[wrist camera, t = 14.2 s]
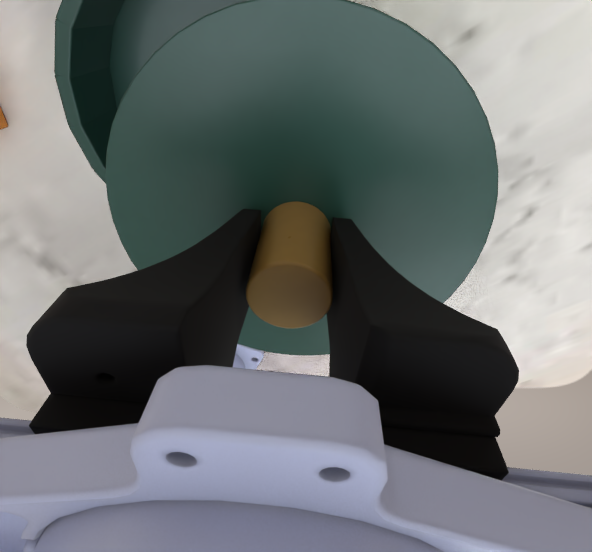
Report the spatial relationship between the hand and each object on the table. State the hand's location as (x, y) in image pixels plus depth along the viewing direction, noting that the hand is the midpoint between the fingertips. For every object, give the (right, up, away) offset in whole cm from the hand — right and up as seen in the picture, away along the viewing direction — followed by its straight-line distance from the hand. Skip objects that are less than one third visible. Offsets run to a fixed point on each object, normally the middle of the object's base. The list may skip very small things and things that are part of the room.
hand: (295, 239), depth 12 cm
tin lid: (0, +1, +1) cm, 1 cm away
